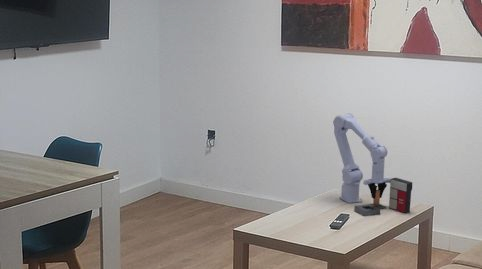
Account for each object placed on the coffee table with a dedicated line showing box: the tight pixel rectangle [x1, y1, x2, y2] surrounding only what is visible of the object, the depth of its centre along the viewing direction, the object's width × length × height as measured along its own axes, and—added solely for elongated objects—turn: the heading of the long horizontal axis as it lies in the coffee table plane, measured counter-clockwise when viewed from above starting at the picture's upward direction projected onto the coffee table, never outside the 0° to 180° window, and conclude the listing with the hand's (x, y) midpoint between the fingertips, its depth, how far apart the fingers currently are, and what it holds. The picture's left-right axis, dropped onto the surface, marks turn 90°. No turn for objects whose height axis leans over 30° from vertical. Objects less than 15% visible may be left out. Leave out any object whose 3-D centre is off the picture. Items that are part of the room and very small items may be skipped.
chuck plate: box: [354, 203, 382, 217], centre depth 372 cm, size 9×9×2 cm
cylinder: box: [372, 189, 381, 205], centre depth 380 cm, size 3×3×7 cm
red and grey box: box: [388, 177, 413, 214], centre depth 375 cm, size 11×4×15 cm, turn 37°
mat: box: [365, 203, 388, 210], centre depth 381 cm, size 8×8×1 cm
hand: (376, 197), depth 381 cm, fingers closed on cylinder, 3 cm apart
